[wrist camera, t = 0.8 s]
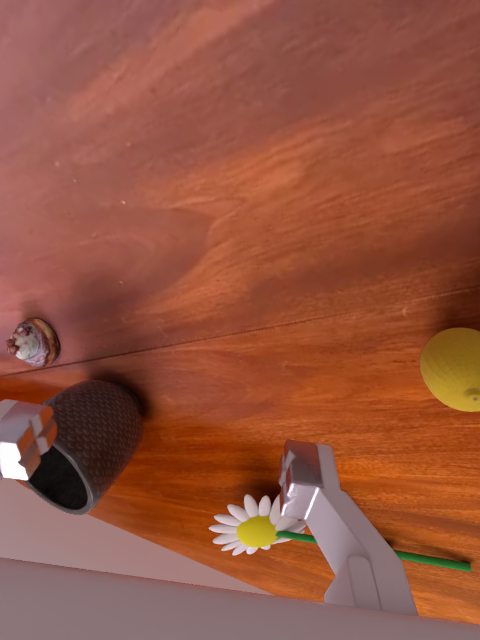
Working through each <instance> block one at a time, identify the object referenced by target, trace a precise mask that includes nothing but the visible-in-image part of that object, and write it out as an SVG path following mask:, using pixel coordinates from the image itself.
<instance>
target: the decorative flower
mask: <svg viewBox="0 0 480 640" xmlns="http://www.w3.org/2000/svg"><path fill="white" fill-rule="evenodd" d="M279 495H280V494H279ZM279 495H278V496H277V497H276V499H275V501H274V503H273V505H272V508H271V502H270V499H269V497H268V496H264V497H262V499H261V501H260V503H259V508H258V505H257V503H256V501H255V500H254V498H253V497H252V496H251V495H246V496H245V497H244V505H245V510H246V511H245V510H244V509H242V508H241V507H239V506H236V505H233V504H231V505H228V507H227V508H228V510H229V512H230V513H231V514H232V515H233V516H232V515H226V514H218V515H215V516H214V518H215V519H216V520H217V521H219V522H221V523H224V524H217V525H212V526H210V527H209V529H210V530H211V531H214V532H219V533H225V534H222V535H219V536H218V537H216V538H215V539H214V540H213V543H215V544H226V543H228V544H226V545H225V546H224V547H223V548H222V550H221V551H226V550H230V549H232V548H235V547H236V548H235V549H234V551H233V555H237V554H240V553H242V552H243V551H244V550H246V549H247V550H246V551H247V554H252V553H254V552H255V551H256V550H257V549H258V548H259V547H261V548H262V549H265V550H267V549H269V548H270V544H276V543H280V542H285V541H289V540H291V539H294V540H299V541H305V542H310V543H316V544H318V543H317V541H316V540H315V538H314V536H312V535H306V534H303V533H304V532H305V530H304V529H303V528H305V527H306V526H307V524H306V522H305V521H306V520H300V521H298V520H299V519H297V518H291V517H285V516H280V502H279ZM393 551H394V552H395V553H396V554H397V556H398V557H399V558H400V559H403V560H409V561H414V562H420V563H425V564H431V565H436V566H442V567H447V568H452V569H458V570H463V571H469V572H471V565H470V564H469V563H465V562H459V561H453V560H448V559H442V558H436V557H431V556H425V555H420V554H414V553H408V552H403V551H397V550H393Z"/></svg>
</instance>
